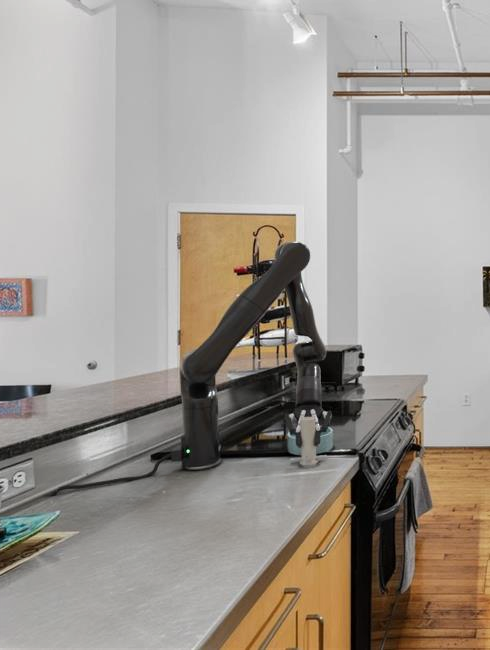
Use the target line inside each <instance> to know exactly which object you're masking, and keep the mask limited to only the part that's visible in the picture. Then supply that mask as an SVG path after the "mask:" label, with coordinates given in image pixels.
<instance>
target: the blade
mask: <svg viewBox="0 0 490 650" xmlns="http://www.w3.org/2000/svg"><path fill="white" fill-rule="evenodd" d="M300 425H301V455H300V456H301V457H291V458H290V460H289V462H290V463H292V462H298V463H299V465H301V466H312V465H316V464H317V463H319V460H324V459H325V460H326V459H328V455H327V454H323V455H322V454H321V455H317V454H316V447H315V418H314V417H304V418H301V419H300Z"/></svg>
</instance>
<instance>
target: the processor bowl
mask: <svg viewBox="0 0 490 650" xmlns="http://www.w3.org/2000/svg"><path fill="white" fill-rule="evenodd" d="M319 426H320V427H321V426H322V425H319ZM333 431H334V429H333V428H331V427H330V426H328V429H327V431H326V432H322V433H321V434H320V444H318V446H316V455H319V454H323V453H326V452H328V451H330V450H332V449H333V447H334V432H333ZM286 439H287V452H288V453H289V454H292V455H294V456H295V455H296V456H301V448H298V446H296V435H290V432H289V431H288V432H287V435H286Z"/></svg>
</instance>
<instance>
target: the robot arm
mask: <svg viewBox="0 0 490 650" xmlns="http://www.w3.org/2000/svg"><path fill="white" fill-rule="evenodd" d="M273 256H274V262H273V263H272V265H271V267H269V269H268V270H267V271H265V273H263V274H262V275H261V276H260V277H258V278H257V279H256V280H254V281H253V282H252V283H250V284H249V285H248V286H247V287H246V288H244V289H243V291H241V292H240V293H239V294H238V296H236V297H235V299H234V300H233V301H232V302H231V304H230V305H229V306H228V308H227V309H226V310H225V312H224V314H223V316H221V319H220V320H219V322H218V324H217V325H216V327H215V329H214V330H213V332H212V333H211V334H210V335H209V336H208V337H207V338H206V339H205V340H204V342H202V344H201V345H199V346H198V347H197V348H195V349H191V350H189V351H187V352H186V353H185V354H183V356H182V357H181V359H180V363H179V376H180V377H179V382H180V383H179V384H180V396H181V397H180V398H181V407H182V411H181V413H182V432H183V433H182V434H181V435H180V444H177V445H176V446H175V447H174V448H172V450H170V453H169V454H166V455H164V456H162V457H161V458H160V459H158V460H157V461H156V463H155V464H154V466H153V469H152V470H151V471H149V472H148V473H145V474H141V475H137V476H124V477H117V478H113V479H107V480H101V481H95V482H90V483H84V484H67V485H62V486H59V487H58V488H59V489H57V488H56V489H57V491H54V490H53V491H52V492H51V493H50V494H49V497H53V496H56V495H57V494H58V493H60V492H62V491H64V490H82V489H86V488H93V487H98V486H105V485H111V484H115V483H120V482H122V483H123V482H128V481H137V480H142V479H145V478H149V477H151V476H153V475H154V474H156V472H157V471H158V468H159V466H160V465H161V464H162V463H163V462H164V461H166V460H168V459H170V460H171V462H172V463H173V462H181V470H183V471H184V470H187V471H201V470H206V469H210V468H213V467H216V466H218V465H220V463H221V452H220V451H221V447H222V446H221V443H220V425H219V424H220V421H219V394H218V390H217V382H216V379H217V378H216V375H217V374H218V372H219V371H220V369H221V368H222V366H223V365H224V363H225V362H226V360H227V359H228V357H229V356H230V354H231V353H232V351H233V350H234V349H235V348H236V347H237V346H238V345H239V343H240V342H241V341H243V339H244V338H246V336H247V335H249V333H250V332H251V331H252V330H253V328H254V327H256V326H257V324H258V323H259V322H260V321H261V319H263V318H264V316H265V315H266V313H267V312H268V311H269V309H270V308H271V307H272V306H273V305H274V303H275V302H276V301H277V299H278V298H279V297H280V295H281V294H282V293H283V291H285V293H286V298H287V301H288V307H289V311H290V316H291V317H290V318H291V322H292V328H293V331H294V334H295V336H299V337H306V338H309V339H310V340H308V341H301V342H298V343H296V344H294V346H293V348H292V357H293V359H294V362H295V365H296V366H295V367H296V372H297V379H296V381H297V382H296V387H295V408H294V411H293V412H292V413H290V414H289V413H285V414H284V422H285V424H286V426H287V430H288V433H289V432H290V435H296V446H298V448H301V425H300V419H301V418H304V417H314V418H315V447H316V446H318V444H320V434H321V433H322V432H326V431H327V429H328V427H330V423H331V420H332V417H333V413H332V410H328V411H325V410H324V409H323V407H322V406H323V404H322V402H323V401H322V399H323V398H322V396H323V395H322V393H323V391H322V383H321V379H322V378H321V367H320V365H318V362H322V361H324V360H325V358H326V356H327V348H326V346H325V343H324V341H323V339H322V337H321V335H320V333H319V331H318V329H317V324H316V319H315V314H314V309H313V305H312V303H311V300H310V298H309V296H308V293H307V291H306V289H305V286H304V285H305V284H304V282H303V277H302V272H303V271H304V270H305V269H306V268H307V267H308V265H309V263H310V261H311V251H310V248H309V247H308V246H307V245H306V244H305V243H303V242H301V241H287V242H283V243H281V244H279V245H278V246H277V247H276V249H275V251H274V255H273ZM322 417H323V419H324V420H323V423H322V425H320V423H319V420H321V418H322ZM294 419H295V420H296V422H297V426H296V428H295V427H294V425H293V421H294ZM320 426H321V427H320Z"/></svg>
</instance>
